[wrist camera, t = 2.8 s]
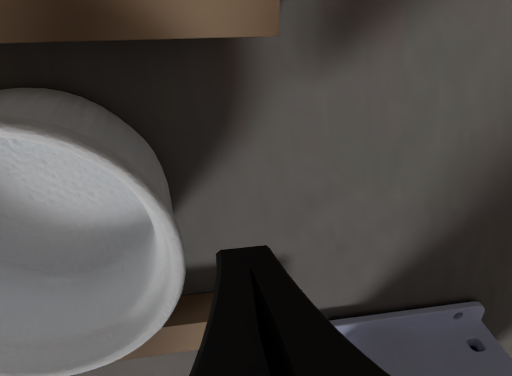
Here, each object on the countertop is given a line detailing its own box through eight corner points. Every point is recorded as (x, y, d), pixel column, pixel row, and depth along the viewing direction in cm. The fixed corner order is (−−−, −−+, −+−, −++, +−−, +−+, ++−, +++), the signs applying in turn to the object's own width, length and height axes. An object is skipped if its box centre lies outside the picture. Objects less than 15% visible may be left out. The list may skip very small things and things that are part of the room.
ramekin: (59, 319, 18) (32, 418, 14) (-162, 179, 14) (-282, 271, 10) (228, 205, 17) (246, 283, 13) (45, 4, 12) (-8, 37, 8)
